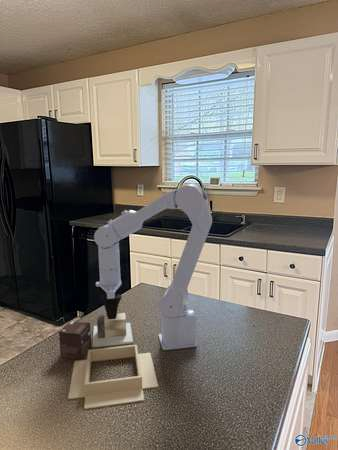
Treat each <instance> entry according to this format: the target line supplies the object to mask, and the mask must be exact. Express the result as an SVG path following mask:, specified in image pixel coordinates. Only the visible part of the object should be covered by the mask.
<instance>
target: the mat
mask: <svg viewBox="0 0 338 450" xmlns="http://www.w3.org/2000/svg"><path fill="white" fill-rule="evenodd" d="M92 332H93V333H92V342H91V349H94V348H102V347H109V346H110V347H112V346H119V345H120V346H122V345H131V344H133V343H134V340H133V333H132V332H133V331H132V325H131V322H130V321H129V322H126V335H125V336H115V337H105V338H98V329H97V325H93V331H92Z"/></svg>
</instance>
